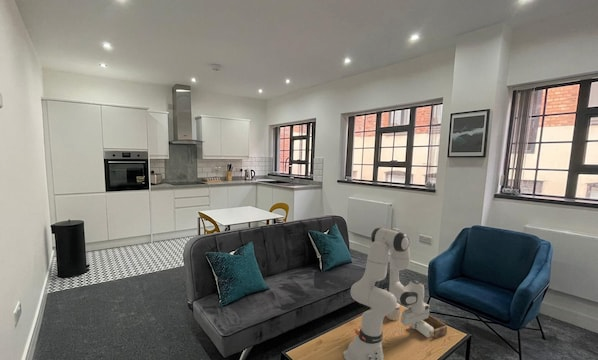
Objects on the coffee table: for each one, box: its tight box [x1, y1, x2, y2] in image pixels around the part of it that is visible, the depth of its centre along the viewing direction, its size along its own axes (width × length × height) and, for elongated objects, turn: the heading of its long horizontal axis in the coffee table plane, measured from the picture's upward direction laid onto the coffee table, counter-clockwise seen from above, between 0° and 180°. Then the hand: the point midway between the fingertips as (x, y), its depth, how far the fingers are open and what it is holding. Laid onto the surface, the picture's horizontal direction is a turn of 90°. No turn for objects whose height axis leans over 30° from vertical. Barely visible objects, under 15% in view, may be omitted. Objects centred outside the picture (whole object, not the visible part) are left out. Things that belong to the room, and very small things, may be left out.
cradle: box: [423, 313, 448, 339], centre depth 181 cm, size 10×16×6 cm, turn 25°
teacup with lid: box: [385, 302, 401, 321], centre depth 195 cm, size 12×9×12 cm
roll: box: [409, 320, 435, 338], centre depth 178 cm, size 12×7×7 cm
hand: (414, 327), depth 175 cm, fingers closed
